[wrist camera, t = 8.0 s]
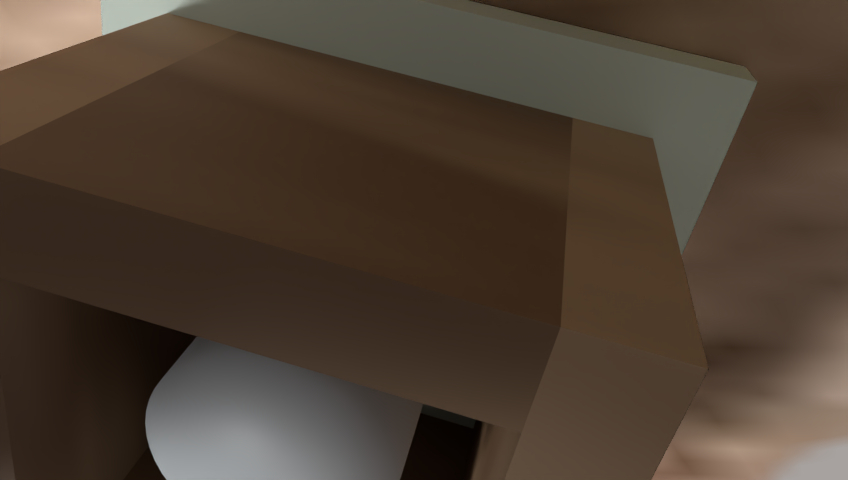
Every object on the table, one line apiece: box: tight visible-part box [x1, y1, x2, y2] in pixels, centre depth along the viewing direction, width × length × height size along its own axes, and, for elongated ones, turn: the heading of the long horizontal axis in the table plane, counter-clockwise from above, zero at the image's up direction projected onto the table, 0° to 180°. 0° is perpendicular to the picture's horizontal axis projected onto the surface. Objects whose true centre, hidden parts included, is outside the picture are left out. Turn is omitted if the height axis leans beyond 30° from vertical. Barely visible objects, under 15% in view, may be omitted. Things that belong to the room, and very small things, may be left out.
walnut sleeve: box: [0, 13, 709, 480], centre depth 9 cm, size 7×7×5 cm
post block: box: [101, 0, 758, 480], centre depth 10 cm, size 9×9×5 cm
